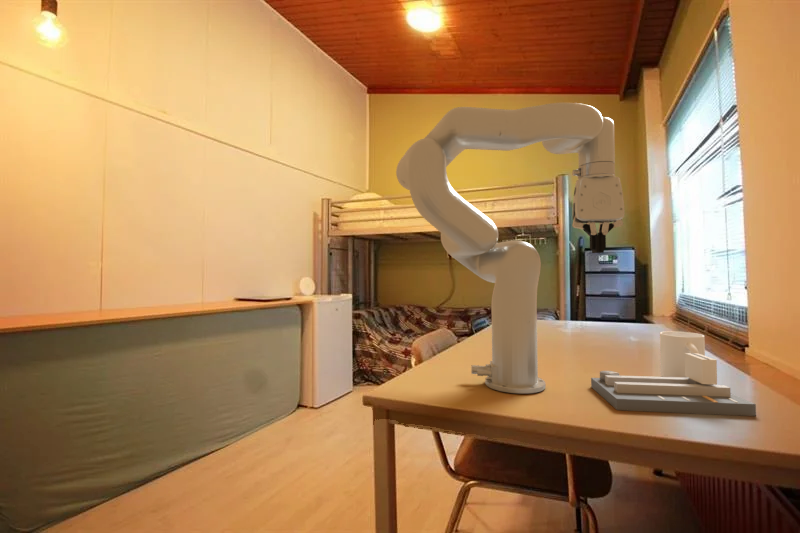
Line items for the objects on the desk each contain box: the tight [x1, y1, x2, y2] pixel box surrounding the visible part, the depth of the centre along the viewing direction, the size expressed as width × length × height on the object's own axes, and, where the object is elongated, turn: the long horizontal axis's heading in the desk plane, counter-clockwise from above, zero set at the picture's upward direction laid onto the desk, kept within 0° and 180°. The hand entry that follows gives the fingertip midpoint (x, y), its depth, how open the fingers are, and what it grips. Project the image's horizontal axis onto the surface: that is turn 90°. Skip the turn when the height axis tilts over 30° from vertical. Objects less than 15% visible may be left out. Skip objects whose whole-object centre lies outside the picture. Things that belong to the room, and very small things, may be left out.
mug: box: [659, 330, 706, 378], centre depth 87 cm, size 12×8×10 cm
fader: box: [685, 353, 718, 385], centre depth 74 cm, size 3×6×6 cm, turn 171°
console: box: [590, 370, 757, 417], centre depth 75 cm, size 22×14×4 cm, turn 81°
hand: (597, 252), depth 90 cm, fingers closed
